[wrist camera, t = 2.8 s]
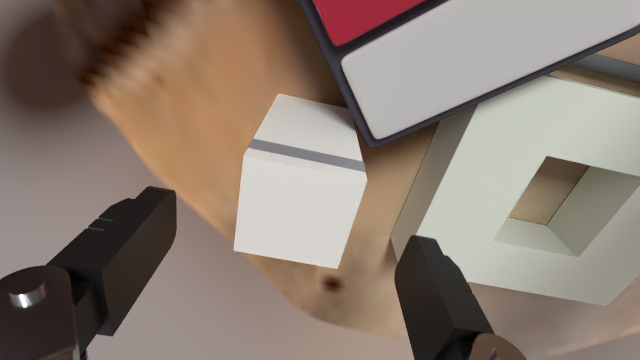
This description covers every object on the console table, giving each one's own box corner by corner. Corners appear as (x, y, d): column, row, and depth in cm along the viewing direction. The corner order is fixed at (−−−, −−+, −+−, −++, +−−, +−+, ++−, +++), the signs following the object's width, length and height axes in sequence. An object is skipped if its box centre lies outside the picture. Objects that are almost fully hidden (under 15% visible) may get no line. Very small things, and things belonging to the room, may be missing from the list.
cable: (496, 22, 15) (505, 23, 14) (722, 81, 16) (743, 85, 15) (484, 49, 15) (492, 51, 14) (703, 104, 16) (722, 109, 16)
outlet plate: (468, 54, 15) (497, 64, 13) (710, 114, 17) (782, 134, 14) (390, 236, 21) (399, 269, 19) (574, 271, 22) (607, 306, 20)
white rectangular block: (278, 92, 17) (243, 154, 10) (351, 109, 17) (368, 180, 10) (268, 159, 18) (232, 251, 12) (333, 172, 19) (337, 269, 12)
